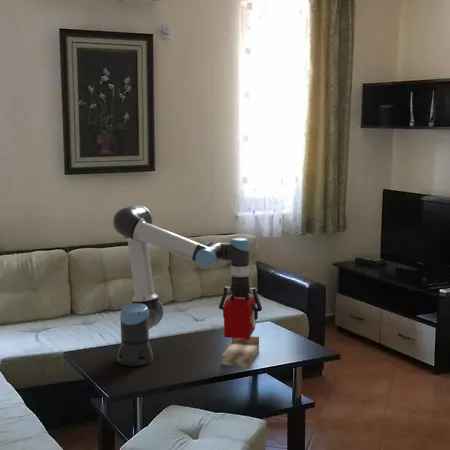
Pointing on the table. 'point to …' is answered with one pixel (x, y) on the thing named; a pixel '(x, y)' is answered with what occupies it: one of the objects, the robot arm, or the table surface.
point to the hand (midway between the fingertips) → (240, 326)
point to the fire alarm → (238, 317)
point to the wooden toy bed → (241, 352)
